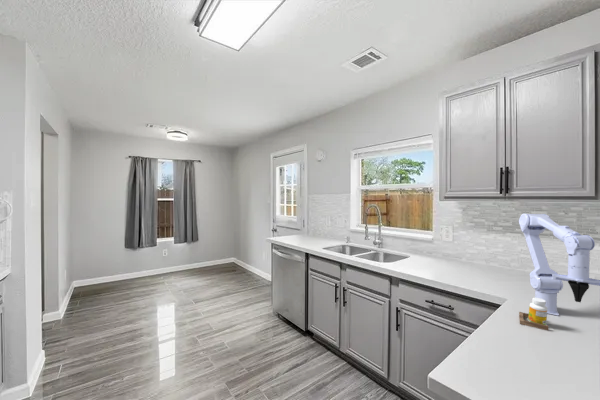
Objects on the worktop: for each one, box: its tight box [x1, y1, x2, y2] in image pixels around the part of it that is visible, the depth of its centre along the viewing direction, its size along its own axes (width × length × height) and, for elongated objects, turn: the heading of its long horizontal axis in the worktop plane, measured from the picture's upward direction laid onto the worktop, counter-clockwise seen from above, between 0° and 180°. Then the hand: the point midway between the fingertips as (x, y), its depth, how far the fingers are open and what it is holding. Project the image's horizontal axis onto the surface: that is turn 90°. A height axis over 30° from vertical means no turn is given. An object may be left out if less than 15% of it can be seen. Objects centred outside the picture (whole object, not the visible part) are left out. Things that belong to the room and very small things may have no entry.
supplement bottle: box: [527, 297, 548, 325], centre depth 107 cm, size 5×5×10 cm
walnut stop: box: [518, 311, 549, 331], centre depth 108 cm, size 10×8×2 cm
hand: (577, 301), depth 103 cm, fingers closed
